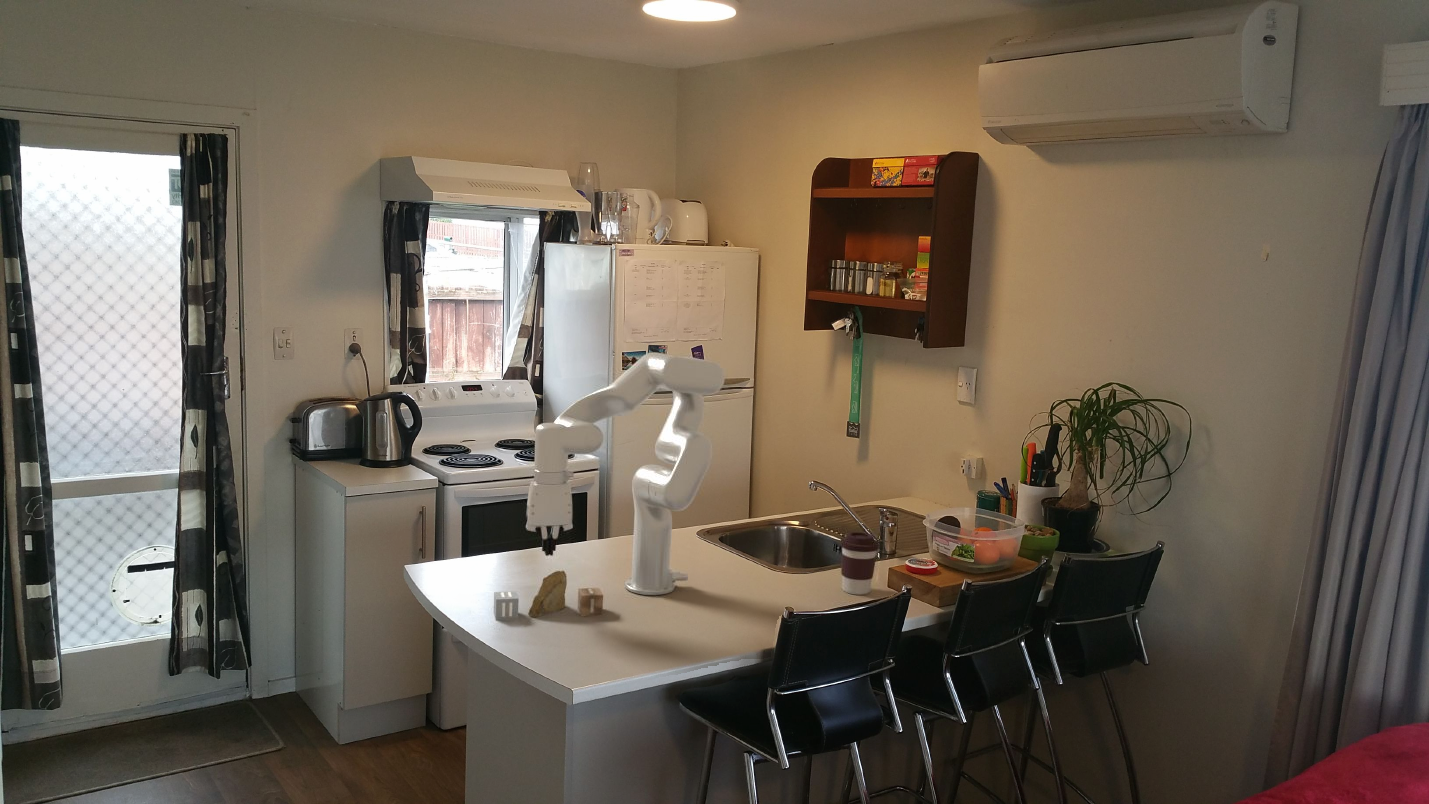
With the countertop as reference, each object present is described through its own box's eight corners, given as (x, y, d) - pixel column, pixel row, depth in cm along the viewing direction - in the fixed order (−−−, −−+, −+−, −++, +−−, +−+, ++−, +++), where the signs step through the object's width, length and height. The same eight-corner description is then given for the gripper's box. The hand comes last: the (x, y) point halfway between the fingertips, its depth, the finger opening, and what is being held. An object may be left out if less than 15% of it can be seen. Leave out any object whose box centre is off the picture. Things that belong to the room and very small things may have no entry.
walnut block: (598, 608, 247) (599, 587, 246) (602, 615, 242) (603, 594, 241) (577, 608, 246) (578, 588, 245) (581, 616, 241) (582, 595, 240)
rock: (533, 613, 234) (575, 602, 239) (523, 578, 237) (565, 568, 242) (525, 627, 243) (565, 616, 248) (515, 593, 246) (555, 583, 251)
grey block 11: (515, 611, 241) (516, 590, 241) (518, 619, 236) (518, 598, 236) (493, 612, 240) (494, 591, 239) (495, 620, 235) (496, 599, 234)
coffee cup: (882, 592, 271) (887, 536, 268) (860, 599, 263) (865, 542, 261) (851, 582, 277) (855, 527, 275) (829, 589, 270) (833, 533, 268)
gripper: (580, 472, 244) (578, 548, 247) (516, 473, 240) (514, 550, 242) (585, 480, 237) (583, 557, 240) (519, 481, 232) (517, 560, 235)
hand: (548, 553), depth 241 cm, fingers closed
